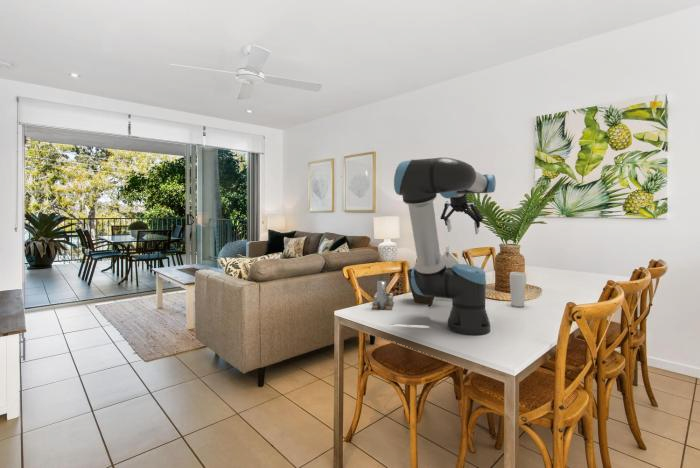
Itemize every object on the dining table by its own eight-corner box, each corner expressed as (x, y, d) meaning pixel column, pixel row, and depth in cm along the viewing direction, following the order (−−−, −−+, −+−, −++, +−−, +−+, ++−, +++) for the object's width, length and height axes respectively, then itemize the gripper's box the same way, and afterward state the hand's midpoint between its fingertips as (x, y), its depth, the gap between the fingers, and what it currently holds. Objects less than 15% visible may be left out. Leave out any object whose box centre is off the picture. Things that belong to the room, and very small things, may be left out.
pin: (386, 310, 158) (385, 282, 157) (376, 309, 159) (376, 282, 158) (386, 307, 162) (386, 280, 161) (377, 307, 163) (377, 280, 162)
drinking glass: (517, 303, 171) (518, 271, 170) (529, 306, 164) (529, 273, 163) (506, 304, 169) (506, 272, 168) (517, 308, 162) (517, 274, 161)
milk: (459, 301, 177) (460, 247, 175) (435, 300, 179) (435, 247, 178) (458, 295, 188) (458, 244, 187) (435, 294, 191) (435, 244, 189)
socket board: (391, 313, 158) (391, 301, 157) (371, 312, 159) (370, 300, 159) (394, 304, 172) (394, 293, 172) (375, 303, 174) (374, 292, 174)
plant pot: (421, 310, 161) (421, 274, 160) (400, 303, 174) (400, 269, 173) (446, 305, 169) (446, 271, 168) (424, 299, 182) (424, 267, 180)
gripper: (487, 190, 165) (491, 229, 176) (435, 189, 180) (441, 225, 190) (482, 198, 160) (487, 238, 171) (429, 197, 175) (436, 233, 186)
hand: (463, 231), depth 181 cm, fingers open, 13 cm apart
